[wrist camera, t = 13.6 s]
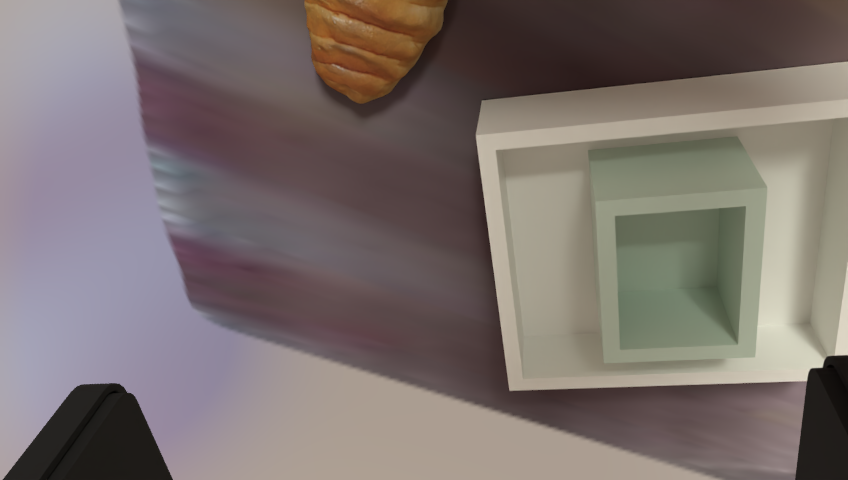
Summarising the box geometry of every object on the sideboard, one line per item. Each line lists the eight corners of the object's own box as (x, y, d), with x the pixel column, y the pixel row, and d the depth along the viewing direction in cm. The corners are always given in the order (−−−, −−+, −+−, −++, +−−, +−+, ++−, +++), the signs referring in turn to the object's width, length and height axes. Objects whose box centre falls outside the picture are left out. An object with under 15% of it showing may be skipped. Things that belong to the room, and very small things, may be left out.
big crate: (481, 100, 38) (475, 135, 34) (852, 60, 34) (892, 94, 30) (511, 339, 45) (509, 390, 41) (819, 325, 42) (848, 379, 38)
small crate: (588, 150, 37) (595, 201, 33) (737, 136, 36) (767, 187, 31) (596, 299, 42) (603, 363, 37) (729, 291, 40) (755, 357, 36)
